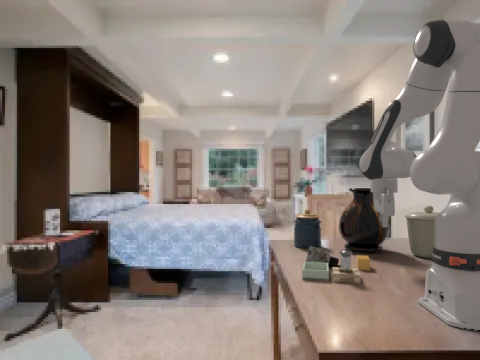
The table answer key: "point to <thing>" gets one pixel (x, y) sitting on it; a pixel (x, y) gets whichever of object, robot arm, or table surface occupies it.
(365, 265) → the chock
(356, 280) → the pin stand
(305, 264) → the tray
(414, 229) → the canister
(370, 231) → the amphora vase
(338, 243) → the table surface
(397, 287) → the table surface
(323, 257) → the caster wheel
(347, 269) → the stop pin
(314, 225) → the canister
